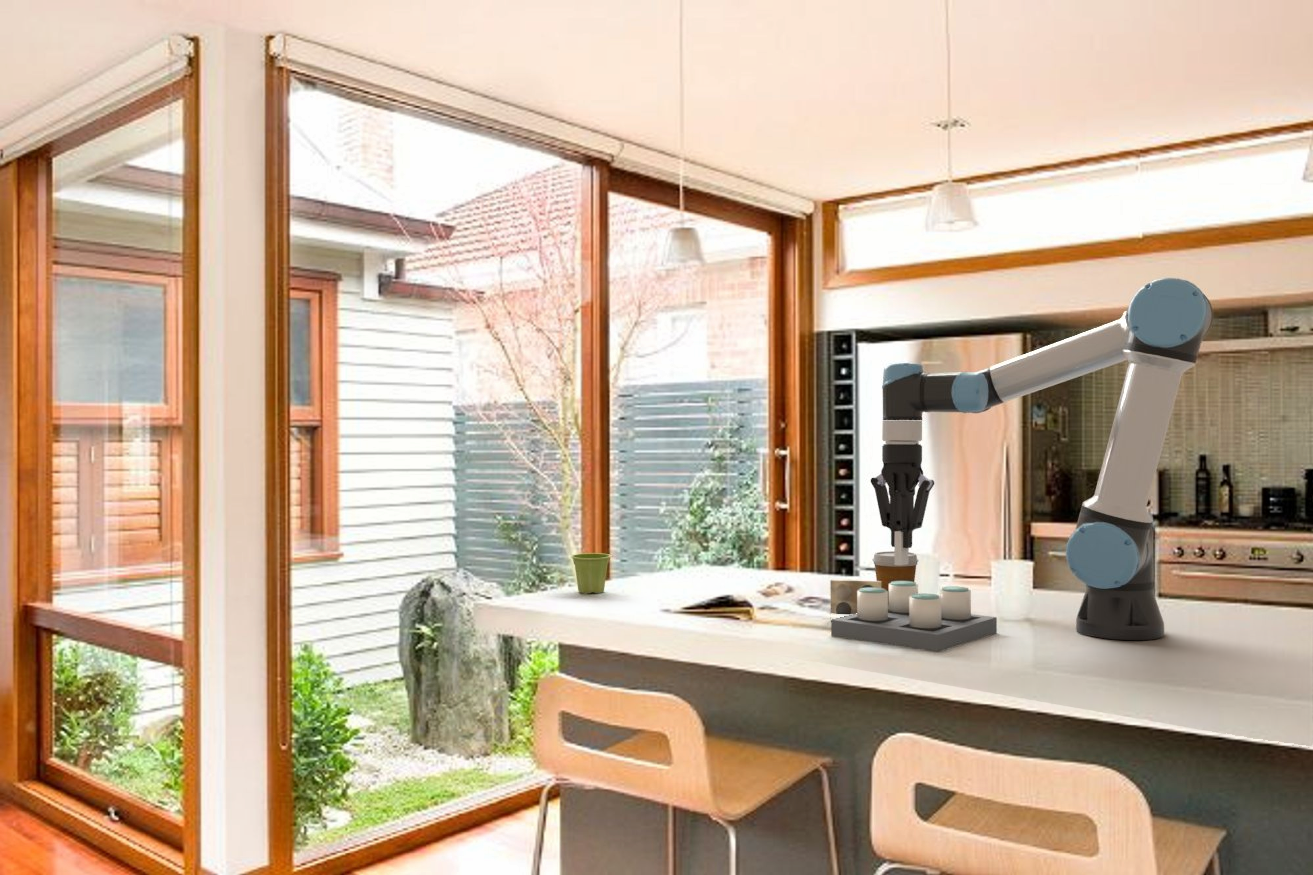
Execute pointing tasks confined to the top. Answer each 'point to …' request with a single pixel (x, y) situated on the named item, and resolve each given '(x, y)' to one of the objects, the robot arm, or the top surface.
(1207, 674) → the top surface
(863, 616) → the button
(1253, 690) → the top surface
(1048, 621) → the top surface
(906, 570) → the disposable coffee cup
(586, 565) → the plant pot
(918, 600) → the button
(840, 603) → the card
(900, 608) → the button
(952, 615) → the button
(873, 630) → the board
